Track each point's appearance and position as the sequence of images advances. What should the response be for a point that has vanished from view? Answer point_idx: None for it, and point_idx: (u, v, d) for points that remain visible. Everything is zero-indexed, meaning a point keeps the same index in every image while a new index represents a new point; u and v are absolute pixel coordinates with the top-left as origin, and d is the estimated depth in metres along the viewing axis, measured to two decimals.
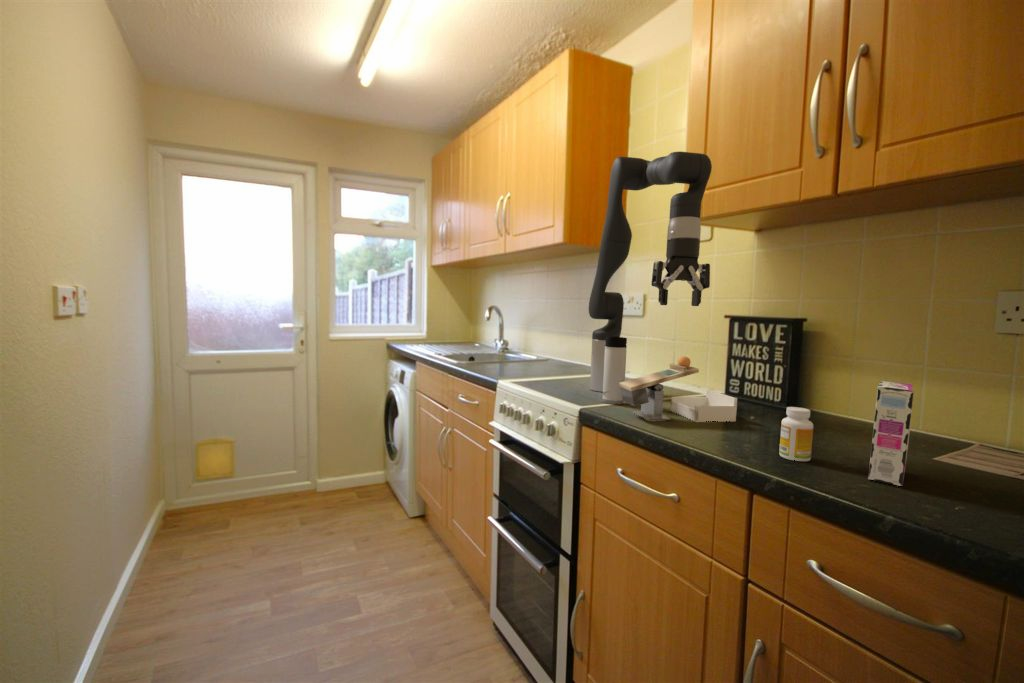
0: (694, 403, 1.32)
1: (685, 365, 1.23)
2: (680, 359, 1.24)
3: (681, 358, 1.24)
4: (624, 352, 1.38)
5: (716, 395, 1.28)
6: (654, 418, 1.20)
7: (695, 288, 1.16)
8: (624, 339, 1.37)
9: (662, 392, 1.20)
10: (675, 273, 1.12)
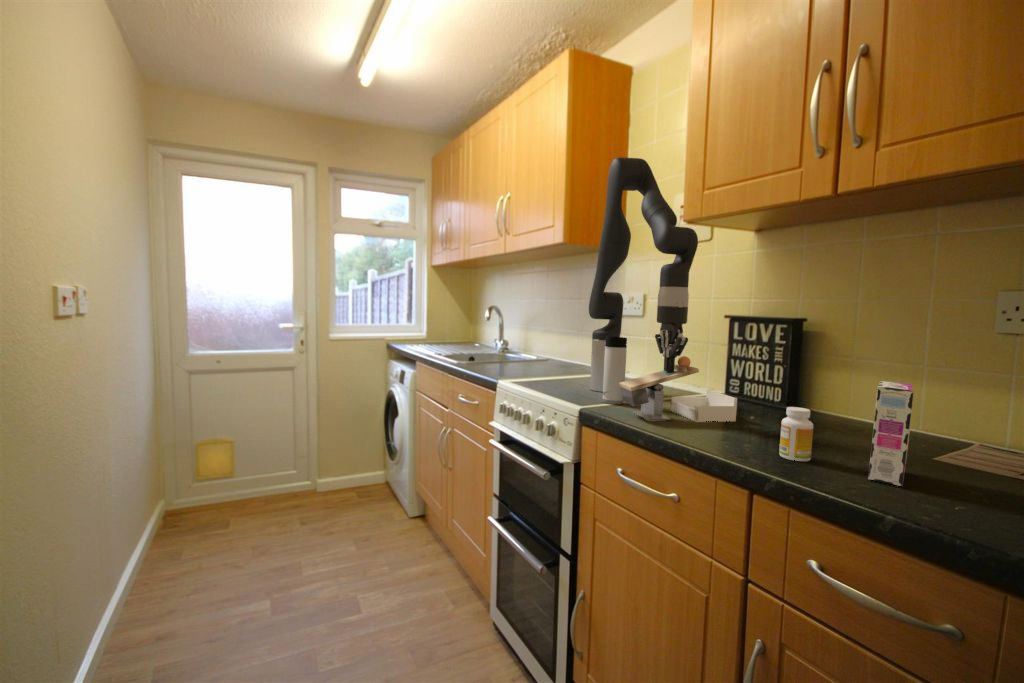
0: (694, 403, 1.32)
1: (685, 365, 1.23)
2: (680, 359, 1.24)
3: (681, 358, 1.24)
4: (624, 352, 1.38)
5: (716, 395, 1.28)
6: (654, 418, 1.20)
7: None
8: (624, 339, 1.37)
9: (662, 392, 1.20)
10: None
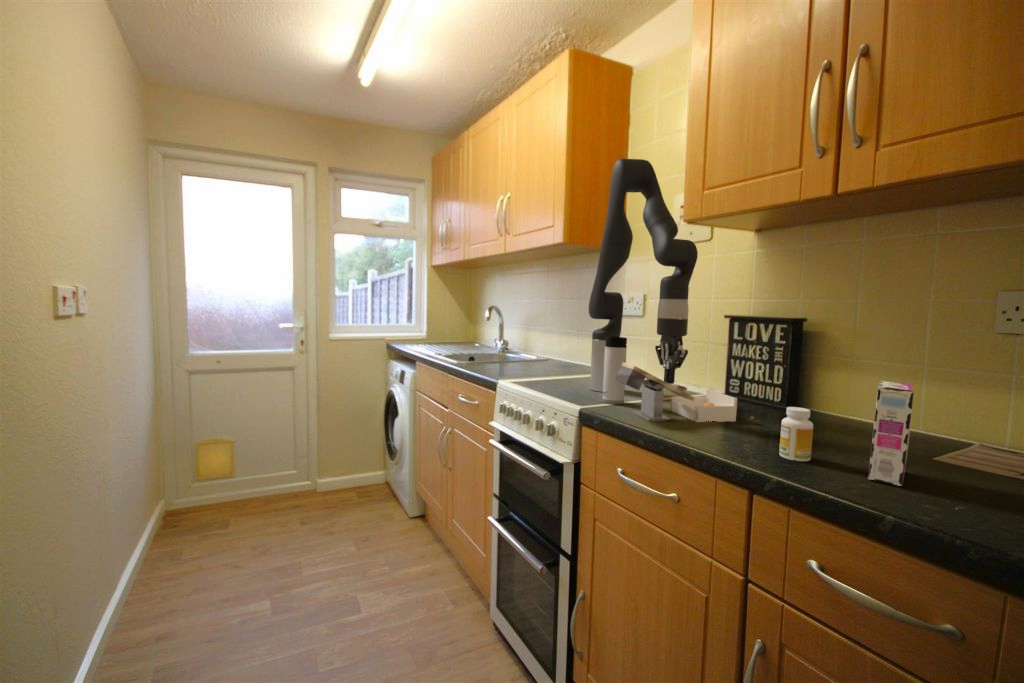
0: (694, 403, 1.32)
1: None
2: None
3: None
4: (624, 352, 1.38)
5: (716, 395, 1.28)
6: (654, 418, 1.20)
7: None
8: (624, 339, 1.37)
9: (662, 392, 1.20)
10: None
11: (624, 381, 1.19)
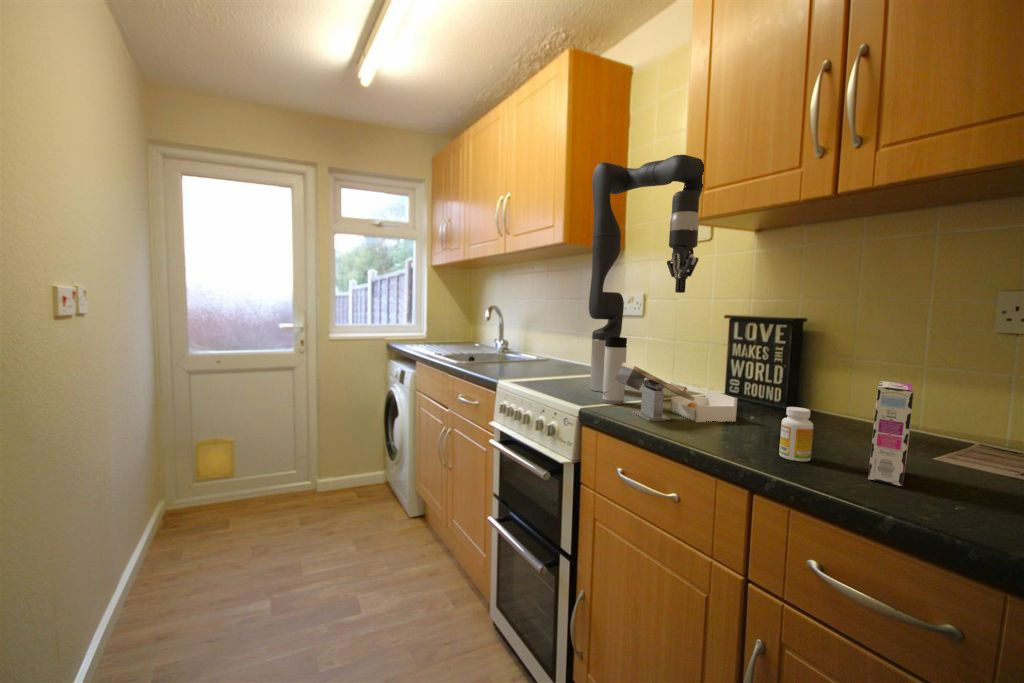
0: None
1: None
2: None
3: None
4: (624, 352, 1.38)
5: (716, 395, 1.28)
6: (654, 418, 1.20)
7: None
8: (624, 339, 1.37)
9: (662, 392, 1.20)
10: None
11: (624, 381, 1.19)
